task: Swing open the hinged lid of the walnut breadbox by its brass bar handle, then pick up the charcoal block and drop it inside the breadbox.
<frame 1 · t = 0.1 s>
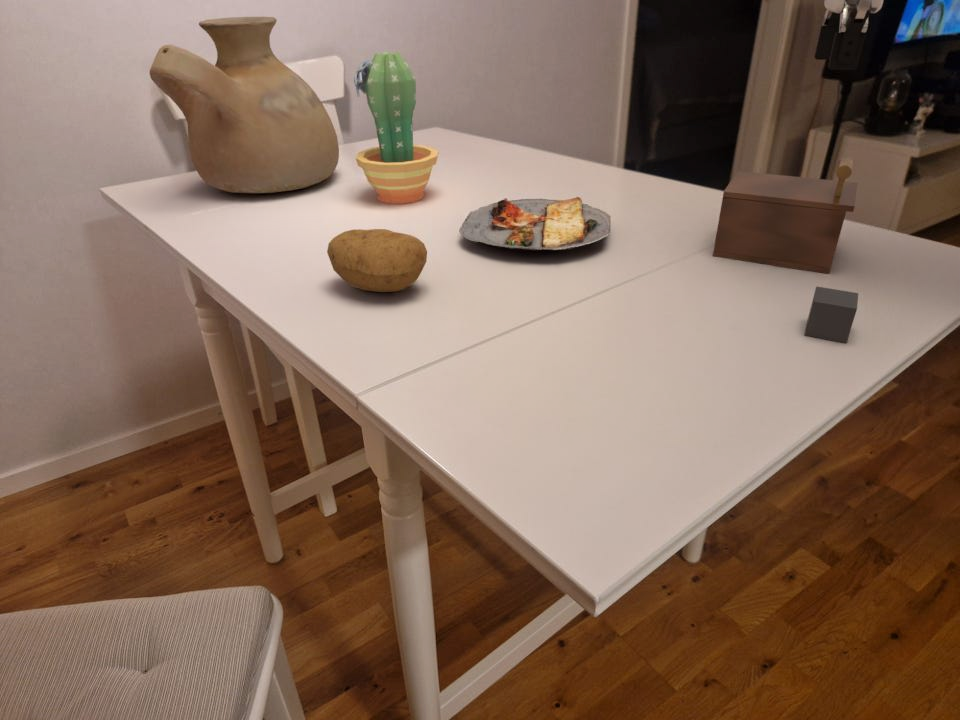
hand: (834, 64, 83), 26 cm above the table, tool pointing down, fingers open, 9 cm apart
block: (826, 331, 77), on the table
potato: (379, 290, 90), on the table
breadbox: (774, 250, 98), on the table
potted cactus: (401, 197, 125), on the table
jug: (262, 185, 134), on the table
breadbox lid: (794, 174, 92), point 11 cm above the table, hinge at 0.0°
food plate: (536, 235, 106), on the table
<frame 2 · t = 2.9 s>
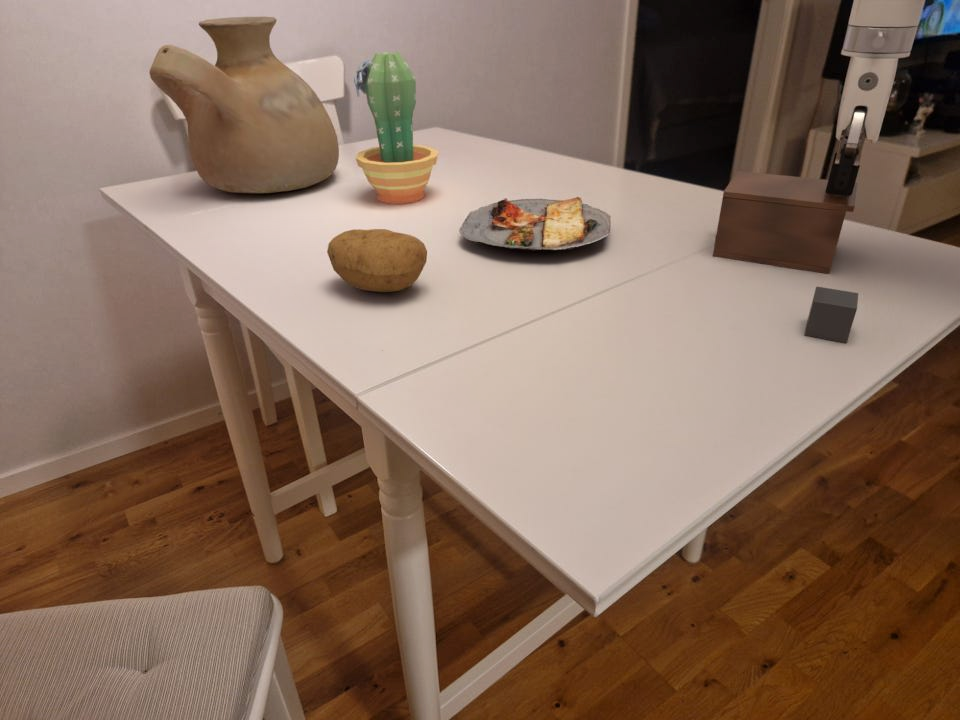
hand: (839, 187, 90), 10 cm above the table, tool pointing down, fingers closed on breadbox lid, 5 cm apart
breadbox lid: (794, 174, 92), point 11 cm above the table, hinge at 0.0°, touching gripper
everything else where it was.
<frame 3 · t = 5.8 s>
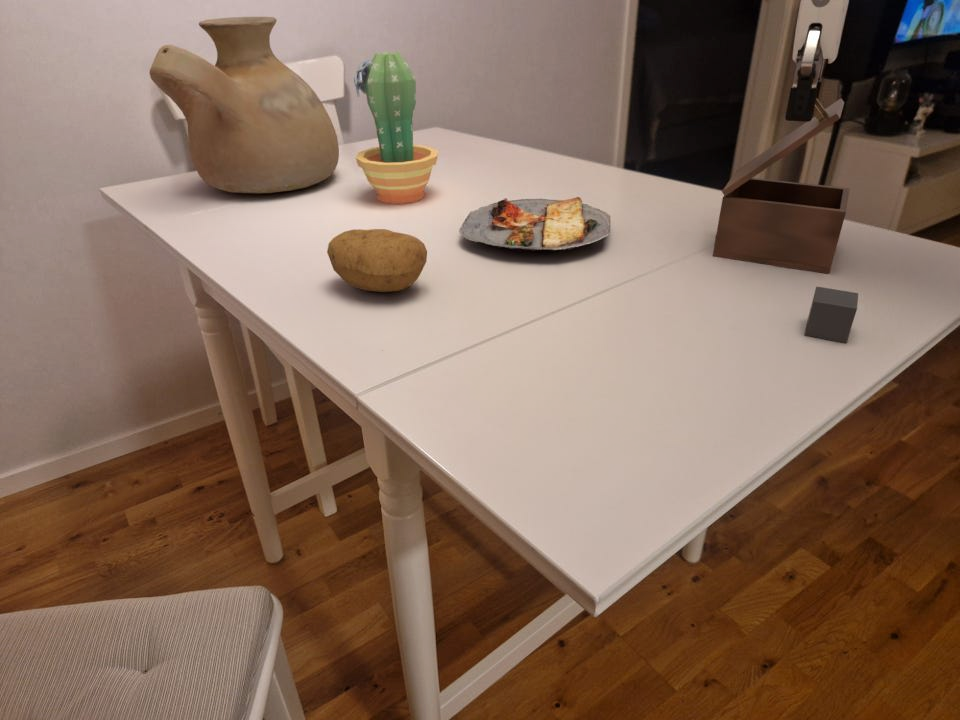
hand: (800, 115, 88), 19 cm above the table, tool pointing down, fingers closed on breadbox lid, 5 cm apart
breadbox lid: (773, 135, 91), point 16 cm above the table, hinge at 43.4°, touching gripper
everything else where it was.
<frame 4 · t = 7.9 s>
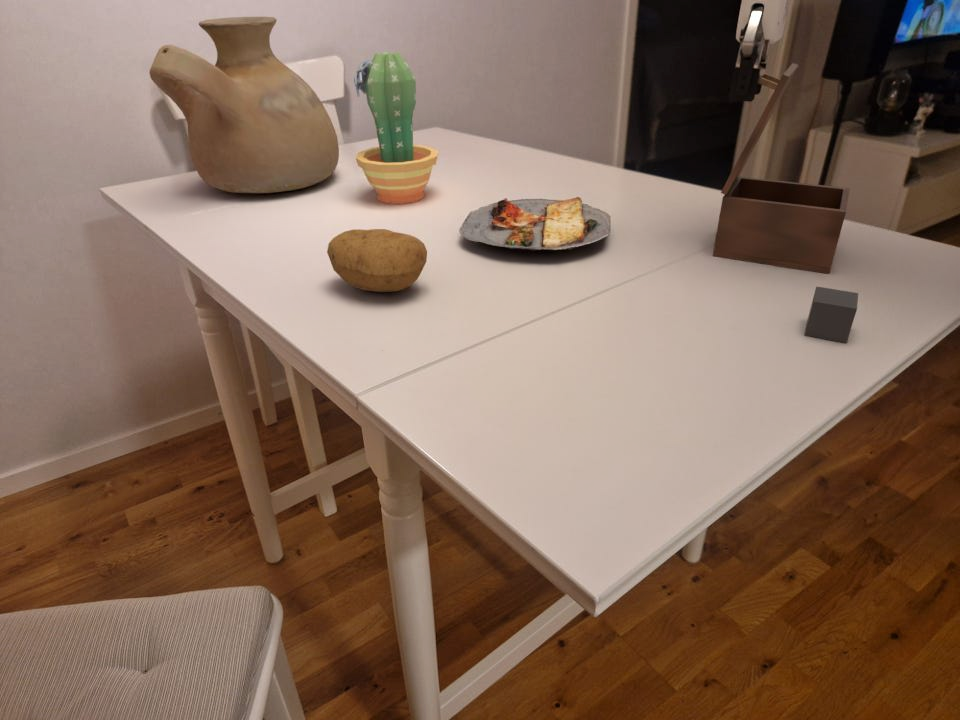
hand: (744, 95, 90), 21 cm above the table, tool pointing down, fingers closed on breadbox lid, 5 cm apart
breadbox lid: (745, 123, 92), point 18 cm above the table, hinge at 72.1°, touching gripper
everything else where it was.
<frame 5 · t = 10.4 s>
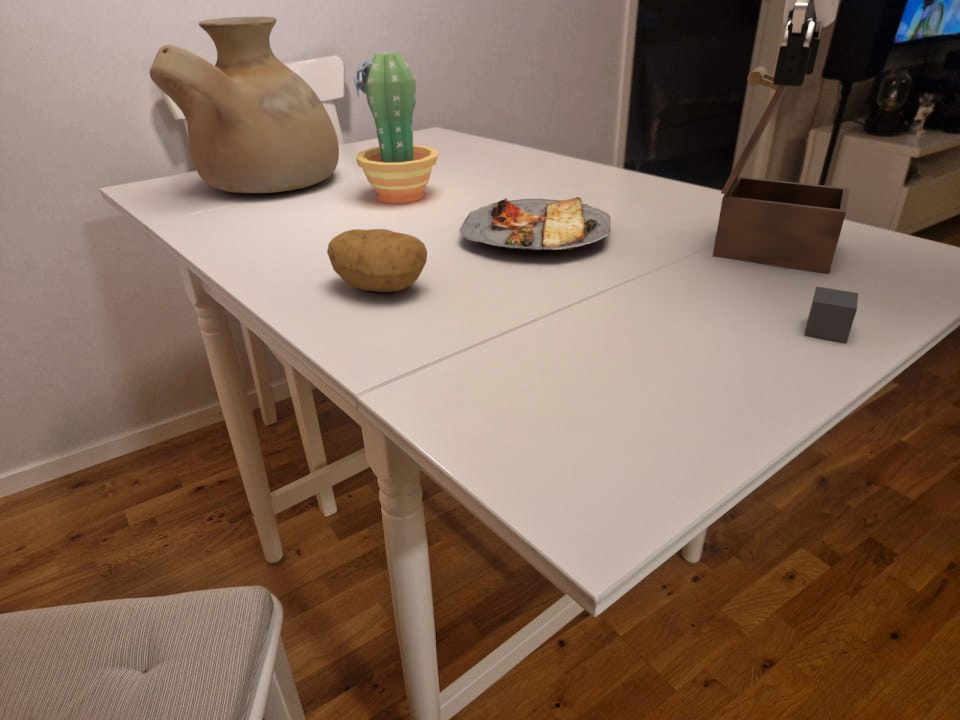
hand: (793, 79, 79), 25 cm above the table, tool pointing down, fingers open, 9 cm apart
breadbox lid: (745, 123, 92), point 18 cm above the table, hinge at 71.4°, touching gripper
everything else where it was.
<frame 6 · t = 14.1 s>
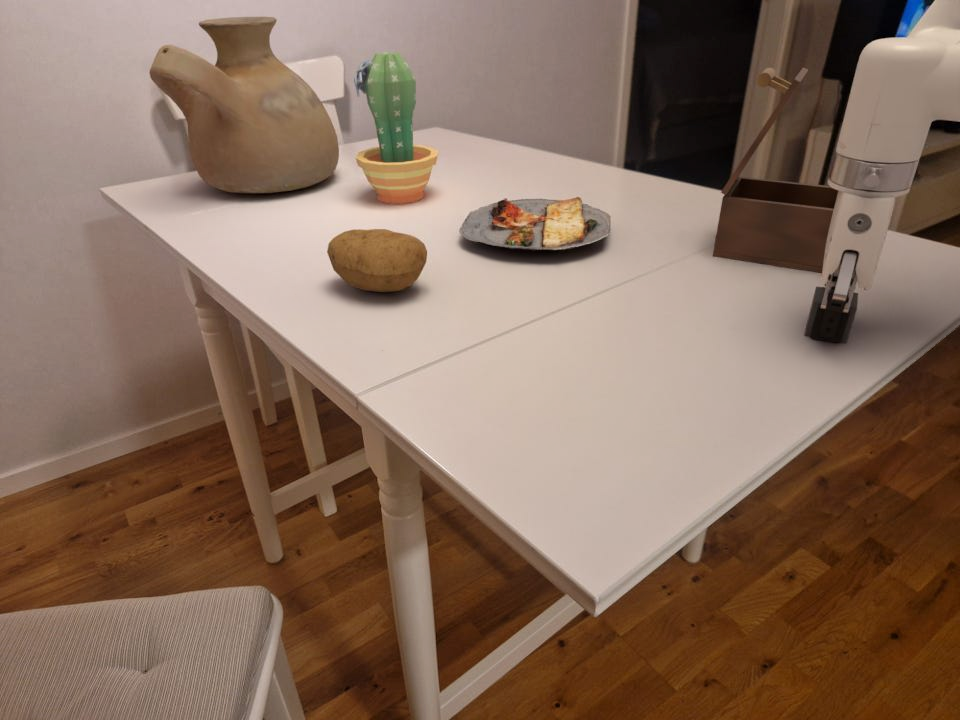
hand: (827, 328, 76), 0 cm above the table, tool pointing down, fingers closed on block, 4 cm apart
block: (826, 331, 77), on the table, touching gripper
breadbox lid: (750, 124, 92), point 18 cm above the table, hinge at 66.9°
everything else where it was.
when the fingers open (9 cm above the table, at t = 21.3 s): block drops 8 cm, resting on breadbox.
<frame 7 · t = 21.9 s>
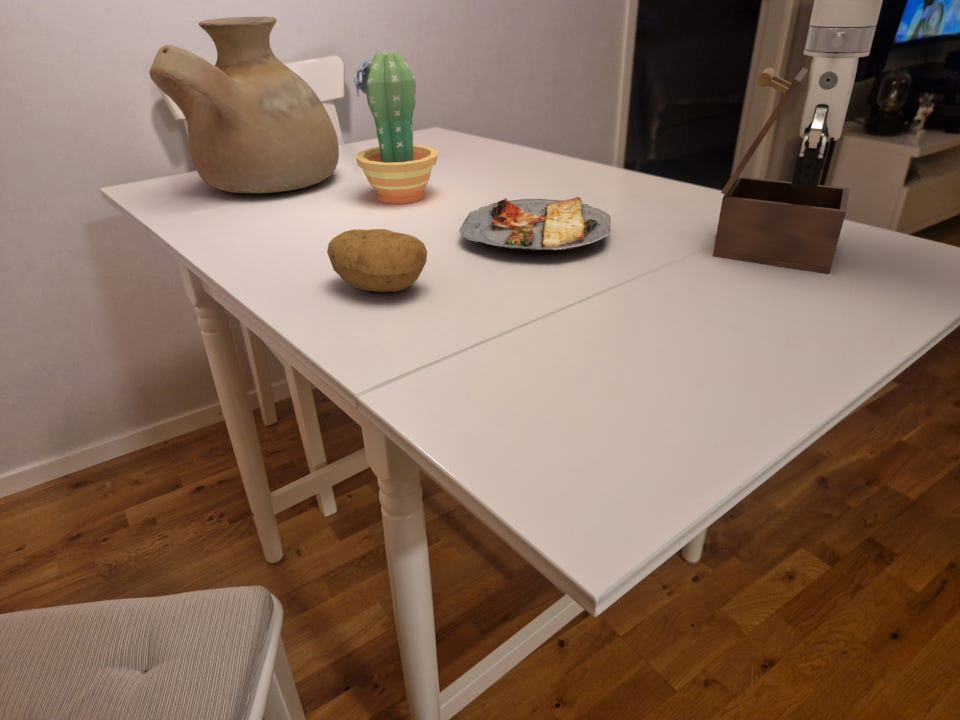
hand: (807, 178, 91), 11 cm above the table, tool pointing down, fingers open, 9 cm apart
block: (789, 247, 97), point 1 cm above the table, touching breadbox
everything else where it was.
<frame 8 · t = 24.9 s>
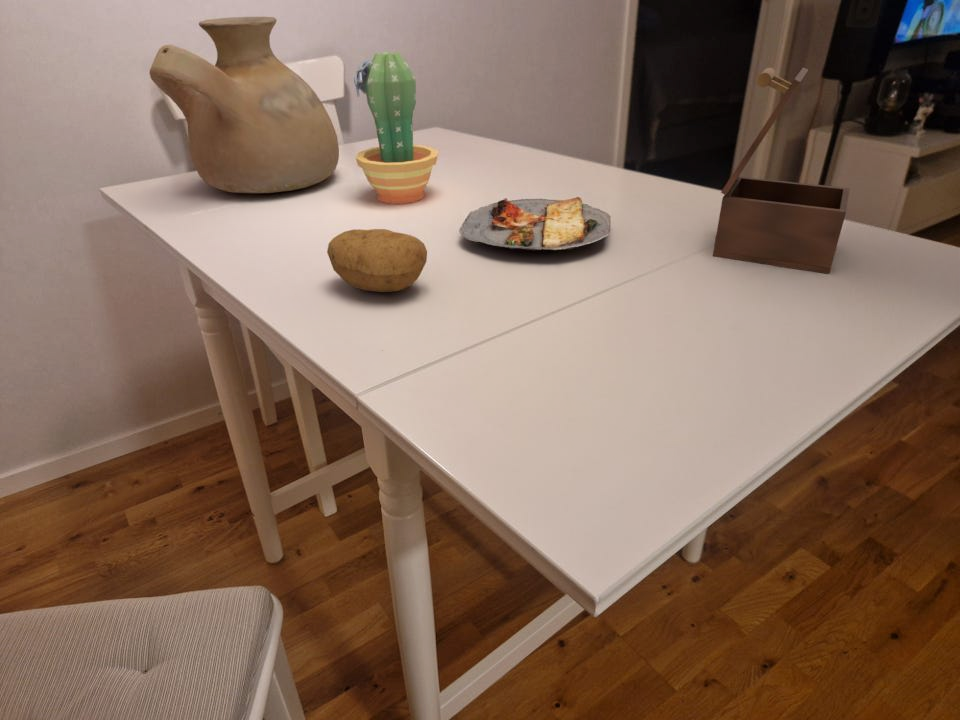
hand: (861, 23, 81), 30 cm above the table, tool pointing down, fingers open, 9 cm apart
nothing on the table moved.
at the end: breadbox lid at +67° (first picture: +0°); block inside the target area in the breadbox (2.1 cm from its centre), point 0.8 cm above the breadbox's base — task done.
